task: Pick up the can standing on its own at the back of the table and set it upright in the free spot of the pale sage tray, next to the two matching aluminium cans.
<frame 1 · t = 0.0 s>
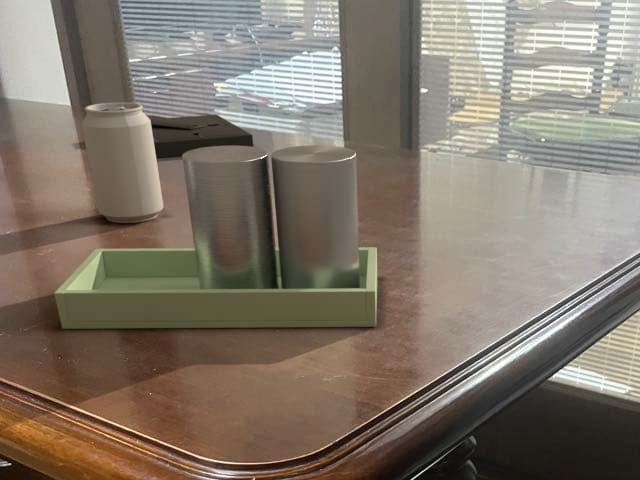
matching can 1: (321, 295, 79), resting on tray
can: (132, 218, 104), on the table
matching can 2: (240, 296, 79), resting on tray
picture frame: (187, 143, 142), on the table
tray: (230, 302, 79), on the table
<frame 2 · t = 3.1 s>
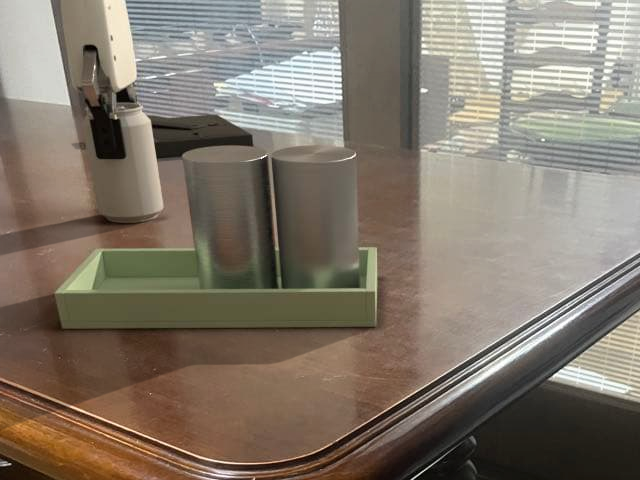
hand: (121, 150, 100), 7 cm above the table, tool pointing down, fingers closed on can, 7 cm apart
can: (132, 218, 104), on the table, touching gripper
everything else where it was.
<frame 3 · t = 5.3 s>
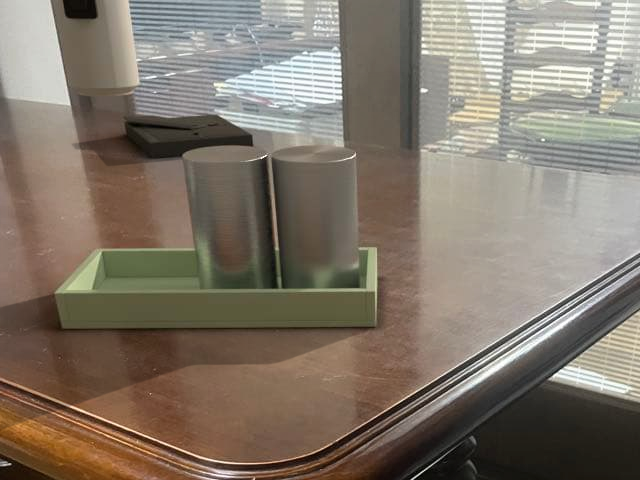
hand: (93, 14, 92), 21 cm above the table, tool pointing down, fingers closed on can, 7 cm apart
can: (106, 95, 96), point 13 cm above the table, touching gripper
everything else where it was.
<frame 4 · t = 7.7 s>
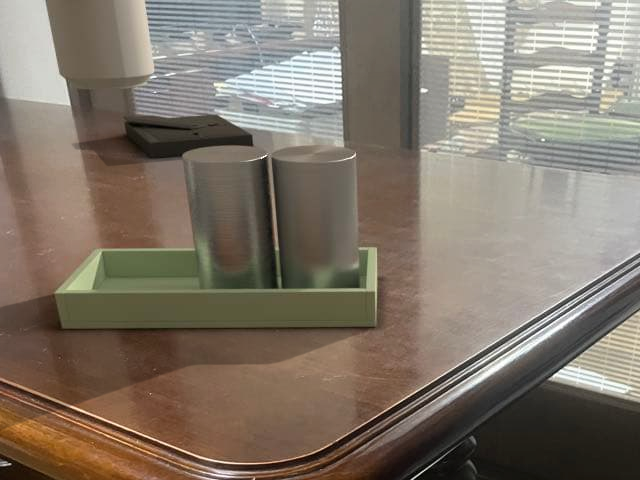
can: (110, 87, 72), point 17 cm above the table, touching gripper
everything else where it was.
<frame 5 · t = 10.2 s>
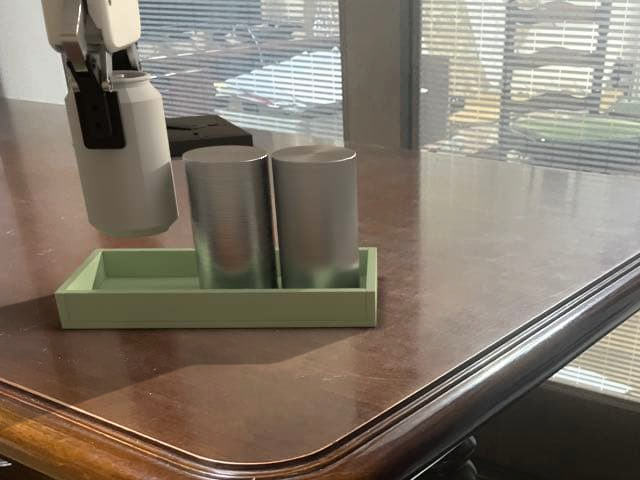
hand: (119, 136, 71), 14 cm above the table, tool pointing down, fingers closed on can, 7 cm apart
can: (136, 231, 76), point 6 cm above the table, touching gripper
everything else where it was.
when the fingers open (8 cm above the table, at t = 12.3 s): can stays where it is, resting on tray.
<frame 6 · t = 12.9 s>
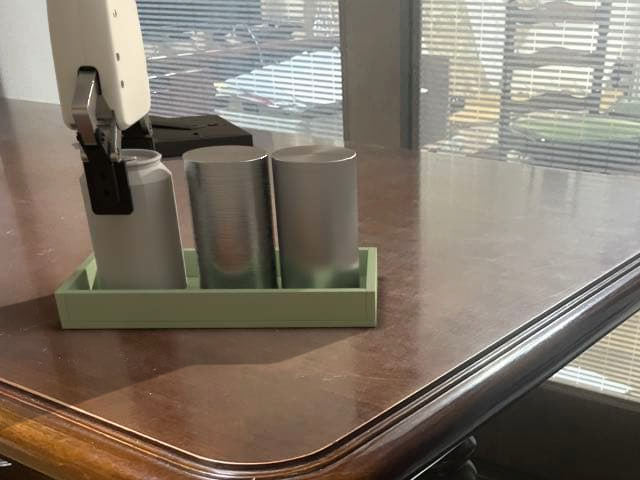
hand: (128, 198, 74), 9 cm above the table, tool pointing down, fingers open, 9 cm apart
can: (147, 298, 79), resting on tray
everything else where it was.
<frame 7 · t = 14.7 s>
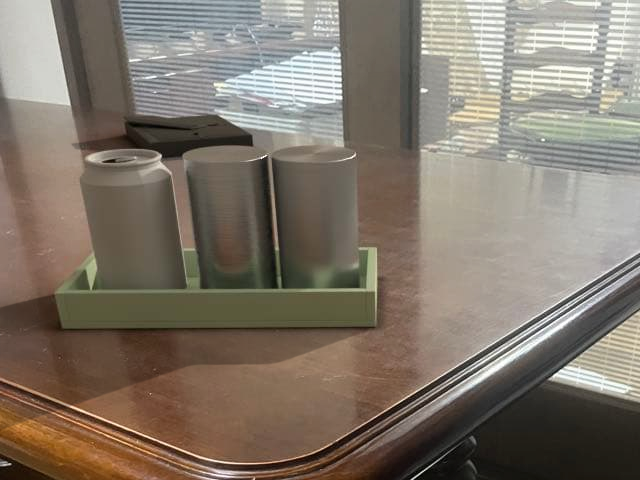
nothing on the table moved.
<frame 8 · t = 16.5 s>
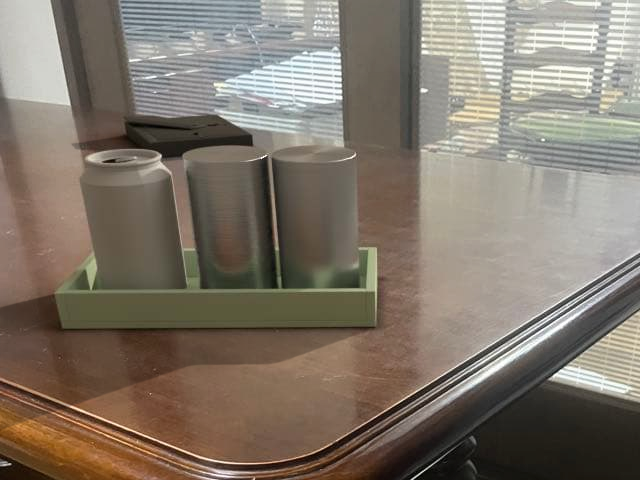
nothing on the table moved.
at the end: can inside the target area in the tray (0.0 cm from its centre), point 0.4 cm above the tray's base; can tilted 0°; the gripper is holding nothing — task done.
